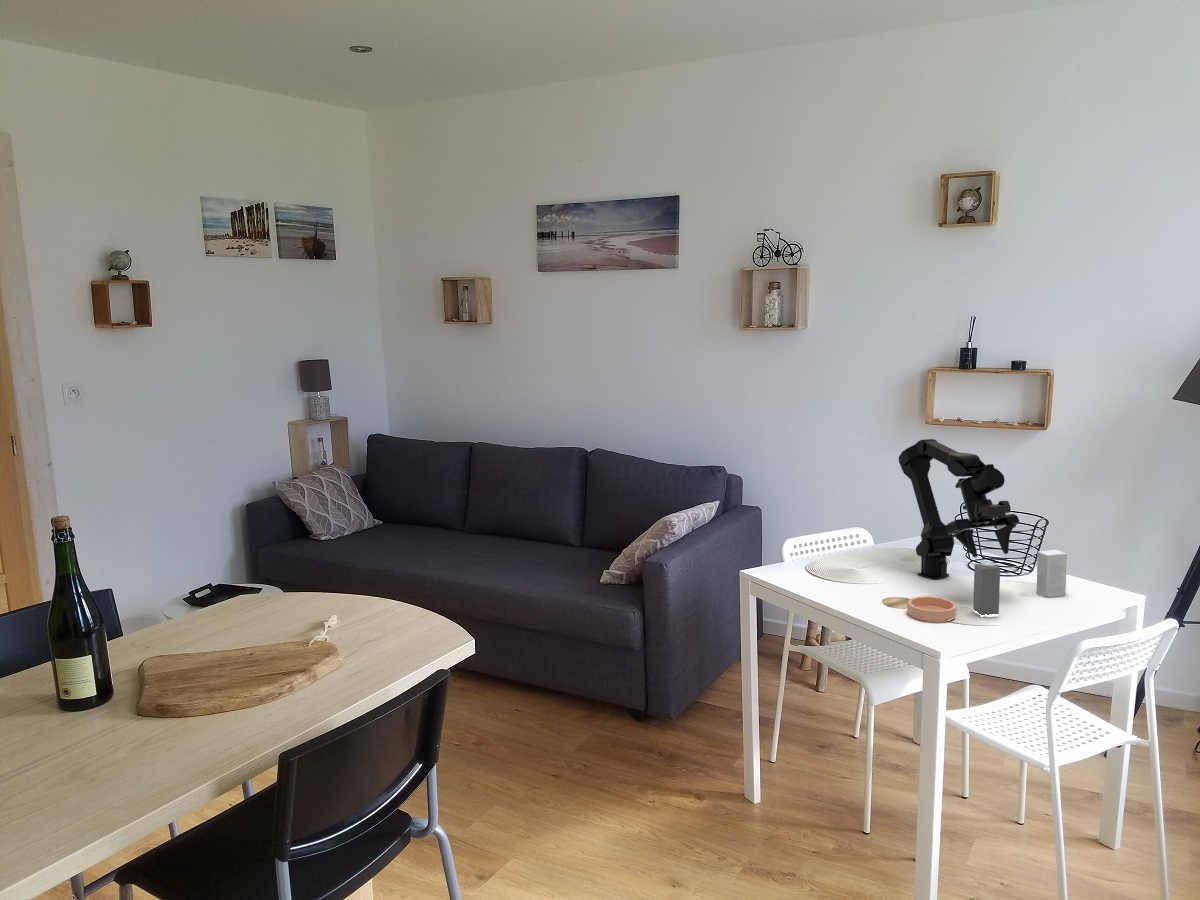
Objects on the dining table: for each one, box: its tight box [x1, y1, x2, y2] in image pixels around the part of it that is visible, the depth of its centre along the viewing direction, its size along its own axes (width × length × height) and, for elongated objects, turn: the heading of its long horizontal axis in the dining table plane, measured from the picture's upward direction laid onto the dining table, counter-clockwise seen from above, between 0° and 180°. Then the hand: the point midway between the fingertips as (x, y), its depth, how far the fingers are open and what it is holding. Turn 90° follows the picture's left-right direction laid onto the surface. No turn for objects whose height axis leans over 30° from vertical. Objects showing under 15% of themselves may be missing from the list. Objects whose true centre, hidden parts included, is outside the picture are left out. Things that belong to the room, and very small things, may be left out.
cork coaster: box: [881, 596, 910, 610], centre depth 232 cm, size 9×9×1 cm
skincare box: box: [1036, 549, 1068, 599], centre depth 233 cm, size 6×4×12 cm
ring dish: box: [906, 595, 958, 624], centre depth 222 cm, size 12×12×3 cm
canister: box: [972, 560, 1001, 615], centre depth 220 cm, size 4×4×14 cm
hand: (991, 555), depth 228 cm, fingers open, 9 cm apart
